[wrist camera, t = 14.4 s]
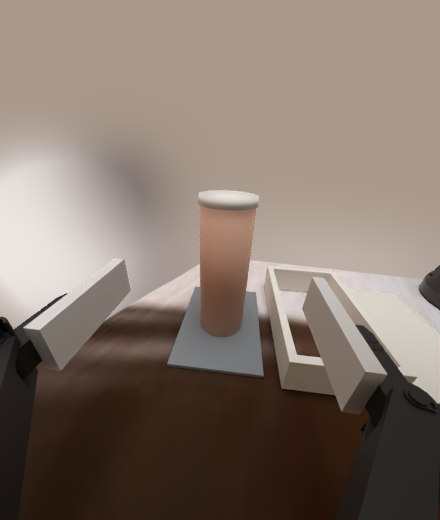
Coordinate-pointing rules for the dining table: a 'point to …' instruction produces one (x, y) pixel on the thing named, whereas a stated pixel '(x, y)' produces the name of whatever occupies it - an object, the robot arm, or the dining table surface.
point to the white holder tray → (361, 313)
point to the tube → (224, 257)
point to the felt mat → (219, 343)
